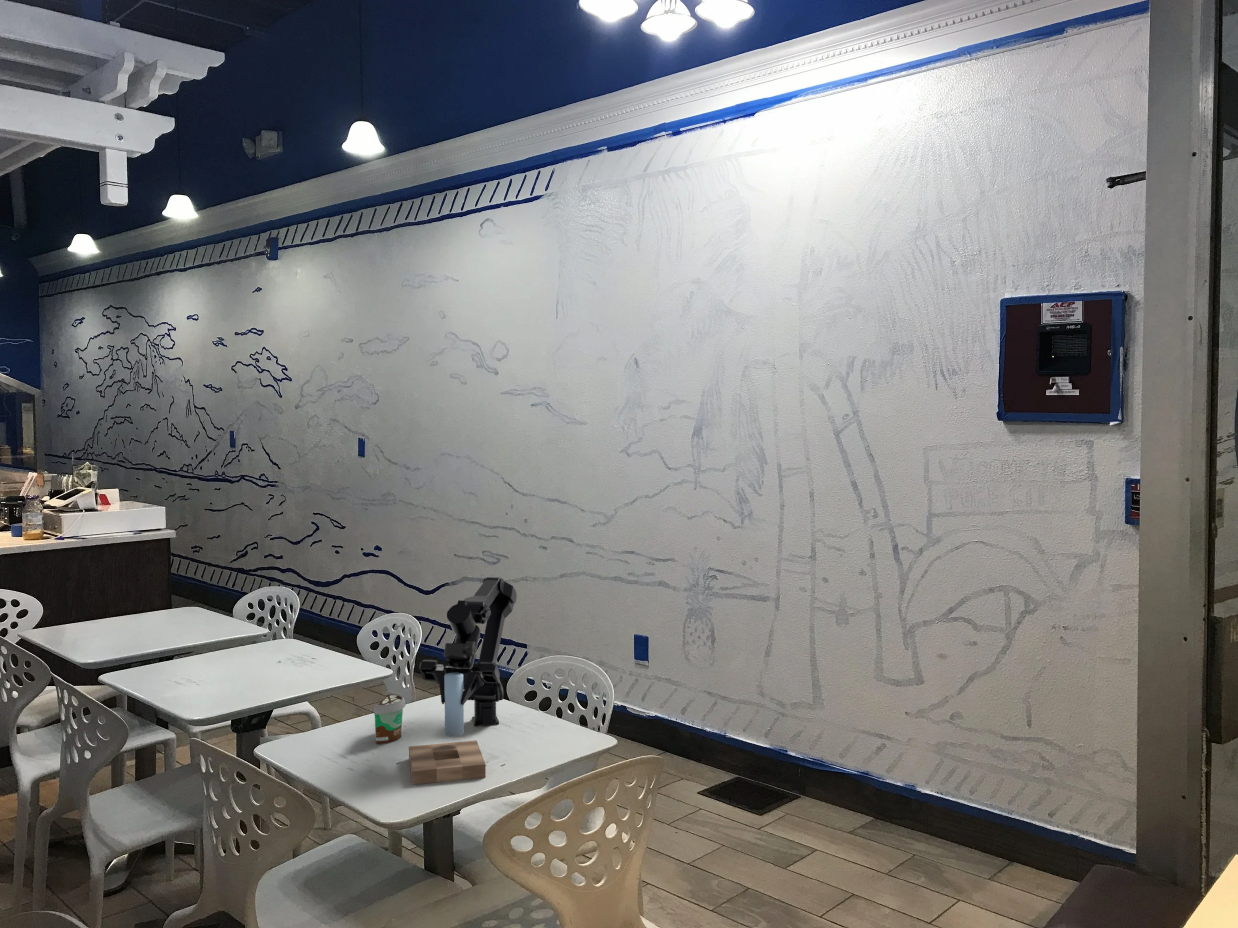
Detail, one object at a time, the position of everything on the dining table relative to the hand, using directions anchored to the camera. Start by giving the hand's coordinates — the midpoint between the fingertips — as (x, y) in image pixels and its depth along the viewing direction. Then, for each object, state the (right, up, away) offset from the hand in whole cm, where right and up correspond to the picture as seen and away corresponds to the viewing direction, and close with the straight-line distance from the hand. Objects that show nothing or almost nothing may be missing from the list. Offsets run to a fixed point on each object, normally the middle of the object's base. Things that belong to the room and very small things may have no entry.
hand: (452, 703), depth 227 cm
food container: (-18, -13, +16) cm, 27 cm away
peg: (0, -7, +2) cm, 8 cm away
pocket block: (-1, -14, -4) cm, 14 cm away
